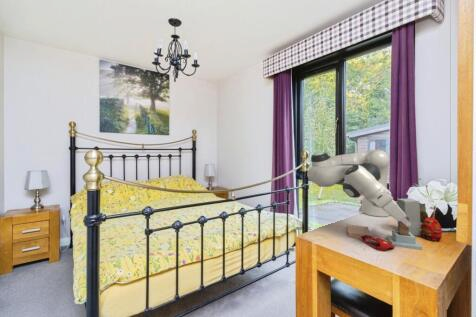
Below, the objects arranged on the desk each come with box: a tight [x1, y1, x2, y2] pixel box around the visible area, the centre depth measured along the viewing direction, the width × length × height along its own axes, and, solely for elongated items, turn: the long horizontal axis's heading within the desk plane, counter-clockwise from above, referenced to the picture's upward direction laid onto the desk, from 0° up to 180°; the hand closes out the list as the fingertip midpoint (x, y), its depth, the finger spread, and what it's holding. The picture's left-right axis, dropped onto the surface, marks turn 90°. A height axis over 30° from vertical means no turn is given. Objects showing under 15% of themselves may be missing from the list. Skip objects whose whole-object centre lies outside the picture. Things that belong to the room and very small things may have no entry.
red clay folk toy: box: [420, 204, 443, 242], centre depth 105 cm, size 8×7×15 cm
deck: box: [346, 224, 373, 240], centre depth 111 cm, size 12×9×2 cm
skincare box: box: [396, 198, 422, 237], centre depth 113 cm, size 8×7×16 cm
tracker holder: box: [360, 234, 395, 252], centre depth 97 cm, size 12×4×10 cm
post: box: [397, 216, 409, 236], centre depth 100 cm, size 3×3×10 cm
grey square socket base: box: [386, 229, 423, 251], centre depth 100 cm, size 10×10×4 cm
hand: (405, 221), depth 100 cm, fingers open, 8 cm apart
